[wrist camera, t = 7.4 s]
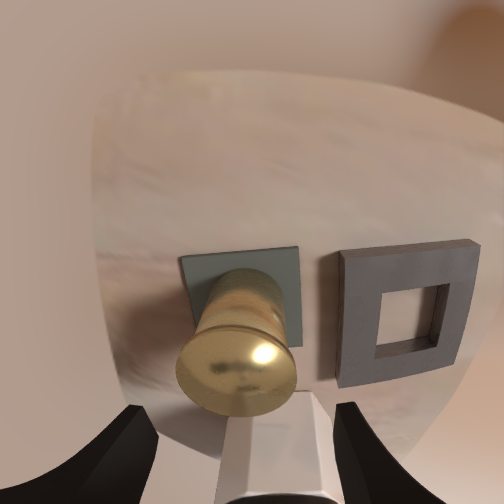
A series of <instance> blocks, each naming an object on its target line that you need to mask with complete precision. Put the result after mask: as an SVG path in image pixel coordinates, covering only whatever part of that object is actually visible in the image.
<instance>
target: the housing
mask: <svg viewBox="0 0 504 504" xmlns="http://www.w3.org/2000/svg"><path fill="white" fill-rule="evenodd" d="M480 247H481V245H479V244H477V243H476V242H474V241H472V240H470V239H462V240H451V241H441V242H430V243H419V244H408V245H397V246H386V247H375V248H363V249H352V250H340V251H339V319H338V341H337V358H336V372H335V376H336V380H337V385H338V388H346V387H352V386H359V385H365V384H371V383H376V382H382V381H387V380H392V379H397V378H401V377H406V376H410V375H415V374H419V373H423V372H427V371H431V370H435V369H439V368H442V367H446V366H449V365H453V364H454V361H455V358H456V355H457V352H458V349H459V346H460V343H461V339H462V336H463V332H464V329H465V325H466V321H467V317H468V313H469V309H470V304H471V300H472V295H473V290H474V285H475V280H476V274H477V268H478V262H479V255H480ZM435 285H438V292H437V298H436V304H435V309H434V314H433V319H432V324H431V329H430V333H429V336H426V337H421V338H417V339H412V340H406V341H401V342H396V343H390V344H384V345H378V346H376V342H377V335H378V327H379V319H380V309H381V299H382V293H386V292H394V291H401V290H408V289H415V288H422V287H429V286H435Z"/></svg>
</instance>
